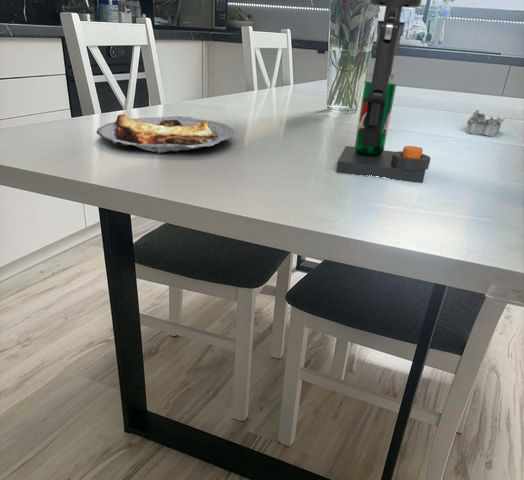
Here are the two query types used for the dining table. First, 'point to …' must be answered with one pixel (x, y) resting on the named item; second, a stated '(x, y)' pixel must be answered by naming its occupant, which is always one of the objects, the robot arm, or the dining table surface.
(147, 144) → the food plate
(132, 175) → the dining table surface
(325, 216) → the dining table surface
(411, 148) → the tare button
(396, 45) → the robot arm
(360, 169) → the dark grey flat block
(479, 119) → the egg carton
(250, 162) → the dining table surface
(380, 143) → the soda can
